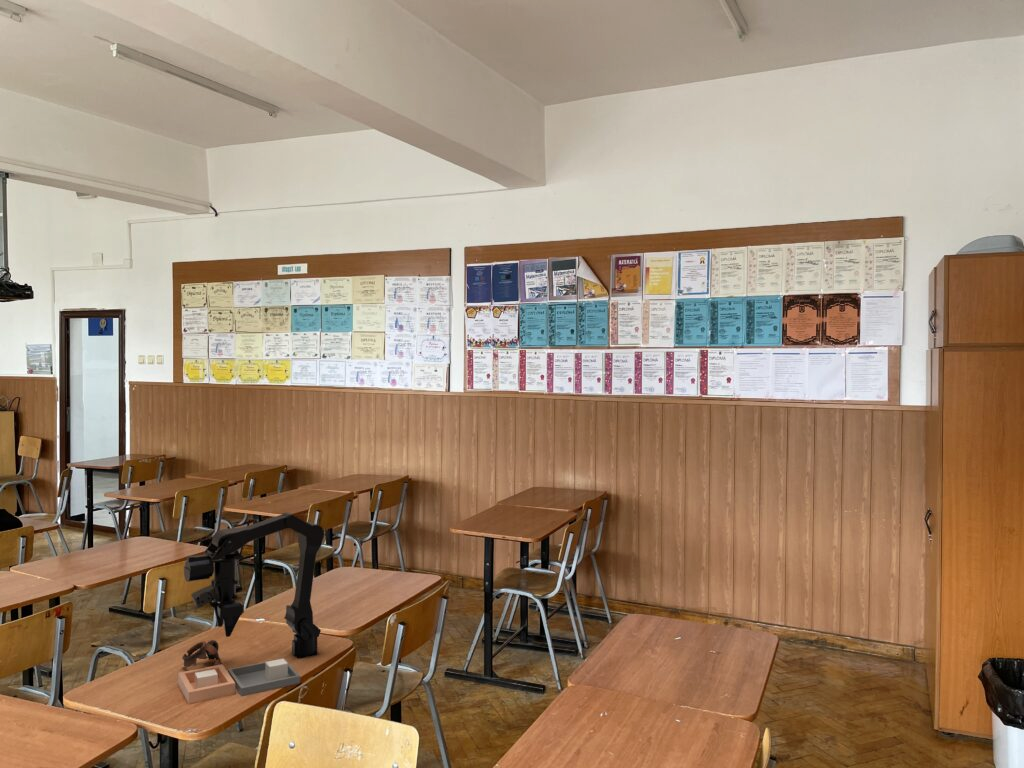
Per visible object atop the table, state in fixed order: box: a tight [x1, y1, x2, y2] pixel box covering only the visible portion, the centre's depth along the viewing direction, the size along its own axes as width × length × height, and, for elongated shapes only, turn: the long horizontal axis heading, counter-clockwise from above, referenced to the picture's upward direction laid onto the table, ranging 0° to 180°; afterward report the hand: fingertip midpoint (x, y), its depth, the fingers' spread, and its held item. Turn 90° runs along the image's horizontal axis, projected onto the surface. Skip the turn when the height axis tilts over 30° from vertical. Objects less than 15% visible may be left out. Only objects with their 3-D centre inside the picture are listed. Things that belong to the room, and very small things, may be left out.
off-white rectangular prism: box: [264, 658, 289, 681], centre depth 209 cm, size 5×4×4 cm
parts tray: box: [227, 657, 301, 697], centre depth 207 cm, size 16×15×3 cm
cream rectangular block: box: [195, 669, 218, 689], centre depth 201 cm, size 5×4×4 cm
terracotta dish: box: [177, 664, 236, 705], centre depth 201 cm, size 11×14×4 cm
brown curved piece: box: [181, 639, 223, 668], centre depth 217 cm, size 12×10×8 cm
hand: (224, 631), depth 211 cm, fingers open, 9 cm apart
